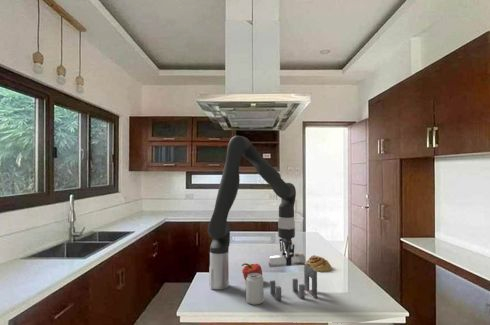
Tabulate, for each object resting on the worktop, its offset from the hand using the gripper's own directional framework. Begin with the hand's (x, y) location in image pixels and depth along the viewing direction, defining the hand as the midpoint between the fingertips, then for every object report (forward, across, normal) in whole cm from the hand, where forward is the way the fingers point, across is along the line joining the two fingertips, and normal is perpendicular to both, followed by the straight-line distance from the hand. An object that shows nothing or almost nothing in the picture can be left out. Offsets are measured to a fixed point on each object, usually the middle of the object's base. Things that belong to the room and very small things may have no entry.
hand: (286, 263), depth 160 cm
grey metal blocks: (+15, 0, -6) cm, 16 cm away
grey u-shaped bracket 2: (+15, 0, +6) cm, 16 cm away
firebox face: (+15, 0, +12) cm, 19 cm away
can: (+15, +3, -16) cm, 22 cm away
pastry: (+15, -35, +32) cm, 50 cm away
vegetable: (+15, -22, -11) cm, 29 cm away
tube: (+1, 0, 0) cm, 1 cm away
